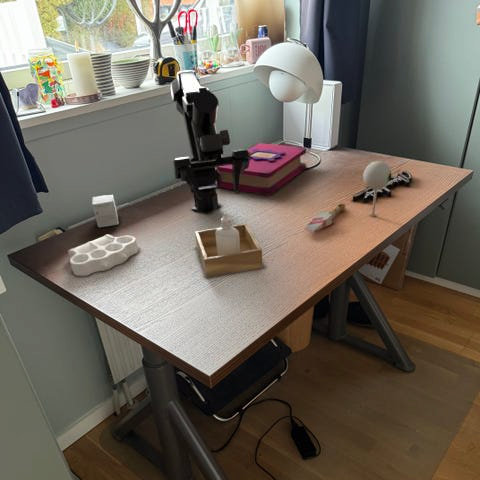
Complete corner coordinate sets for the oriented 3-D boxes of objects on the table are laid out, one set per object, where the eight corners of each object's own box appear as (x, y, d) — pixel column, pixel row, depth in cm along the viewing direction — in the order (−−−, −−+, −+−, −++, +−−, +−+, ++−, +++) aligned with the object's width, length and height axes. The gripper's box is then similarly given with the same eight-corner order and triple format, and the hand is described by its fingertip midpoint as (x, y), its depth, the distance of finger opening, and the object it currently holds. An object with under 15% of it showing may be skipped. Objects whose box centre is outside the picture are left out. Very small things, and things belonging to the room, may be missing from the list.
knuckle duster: (118, 238, 130) (148, 254, 121) (58, 263, 120) (86, 282, 111) (115, 227, 128) (146, 242, 119) (54, 251, 118) (82, 270, 110)
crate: (197, 248, 122) (194, 231, 119) (247, 239, 124) (246, 223, 121) (206, 277, 110) (204, 259, 107) (262, 267, 112) (261, 249, 109)
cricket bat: (301, 223, 122) (336, 200, 135) (301, 233, 124) (336, 209, 137) (314, 226, 120) (349, 202, 133) (314, 236, 122) (348, 211, 135)
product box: (97, 228, 137) (91, 204, 132) (98, 220, 141) (91, 196, 137) (119, 224, 137) (113, 201, 133) (118, 216, 142) (113, 193, 138)
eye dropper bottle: (229, 266, 113) (225, 219, 105) (215, 258, 116) (210, 213, 109) (243, 259, 115) (240, 213, 108) (229, 252, 118) (225, 207, 111)
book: (214, 186, 157) (212, 164, 153) (256, 161, 176) (255, 140, 171) (269, 195, 148) (269, 171, 143) (307, 167, 166) (307, 145, 162)
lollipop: (381, 223, 127) (387, 167, 118) (355, 218, 130) (360, 164, 121) (389, 213, 131) (396, 159, 122) (364, 209, 135) (370, 156, 126)
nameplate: (393, 168, 155) (422, 174, 149) (393, 173, 156) (421, 179, 150) (345, 194, 140) (375, 202, 134) (345, 199, 141) (374, 207, 135)
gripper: (167, 123, 107) (180, 186, 105) (246, 113, 110) (260, 174, 107) (169, 149, 118) (181, 206, 116) (241, 139, 121) (254, 195, 118)
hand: (218, 195), depth 114 cm, fingers open, 9 cm apart
